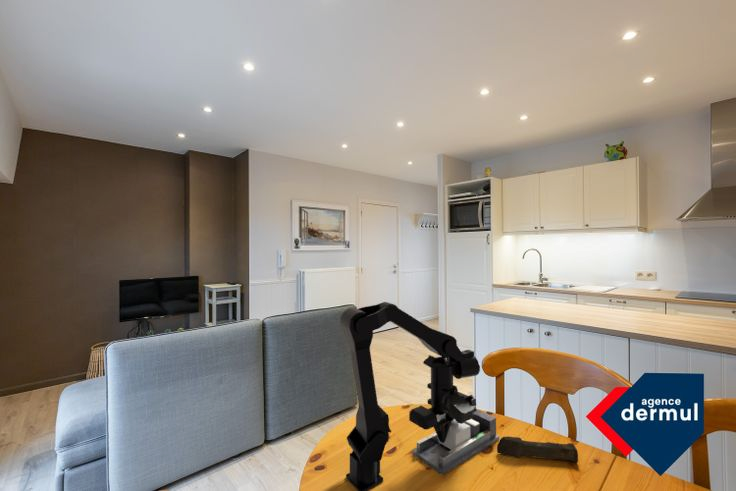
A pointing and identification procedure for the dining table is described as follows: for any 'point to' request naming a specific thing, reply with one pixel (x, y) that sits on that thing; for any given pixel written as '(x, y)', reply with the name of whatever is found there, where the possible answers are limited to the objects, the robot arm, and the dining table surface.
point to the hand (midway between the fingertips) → (442, 441)
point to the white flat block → (473, 428)
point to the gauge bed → (449, 459)
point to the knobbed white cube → (456, 435)
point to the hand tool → (536, 449)
